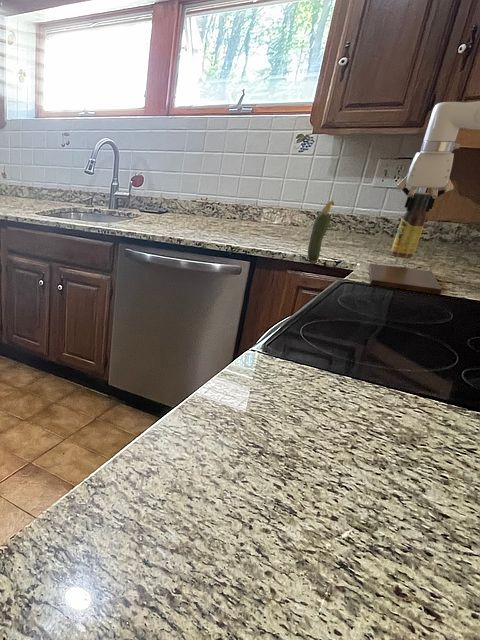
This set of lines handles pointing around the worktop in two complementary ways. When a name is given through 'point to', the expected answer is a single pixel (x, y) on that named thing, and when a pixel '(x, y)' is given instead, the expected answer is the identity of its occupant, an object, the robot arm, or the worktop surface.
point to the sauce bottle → (410, 227)
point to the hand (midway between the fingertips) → (417, 210)
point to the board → (404, 278)
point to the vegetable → (319, 233)
